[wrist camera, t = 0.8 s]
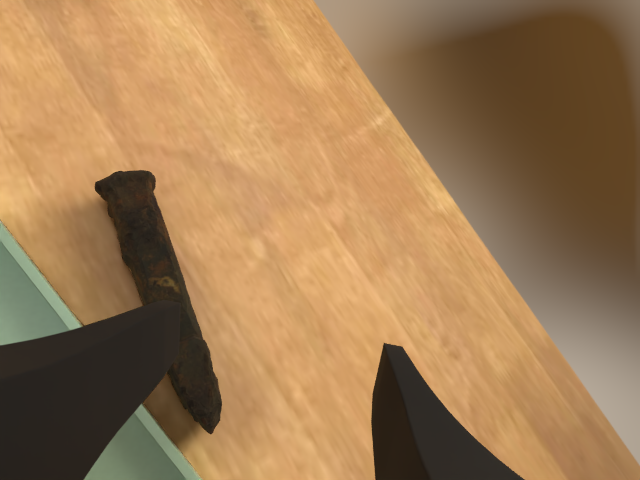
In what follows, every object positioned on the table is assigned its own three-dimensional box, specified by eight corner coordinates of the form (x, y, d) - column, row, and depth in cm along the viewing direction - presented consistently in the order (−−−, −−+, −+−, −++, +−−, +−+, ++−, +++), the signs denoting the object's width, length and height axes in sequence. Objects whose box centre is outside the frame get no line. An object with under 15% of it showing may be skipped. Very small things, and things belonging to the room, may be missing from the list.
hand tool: (97, 196, 28) (89, 165, 24) (153, 187, 30) (154, 158, 26) (165, 449, 24) (168, 463, 20) (223, 421, 26) (237, 428, 22)
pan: (24, 675, 19) (8, 713, 17) (-249, 320, 19) (-299, 312, 17) (206, 484, 24) (212, 494, 22) (-4, 215, 25) (-18, 199, 23)
